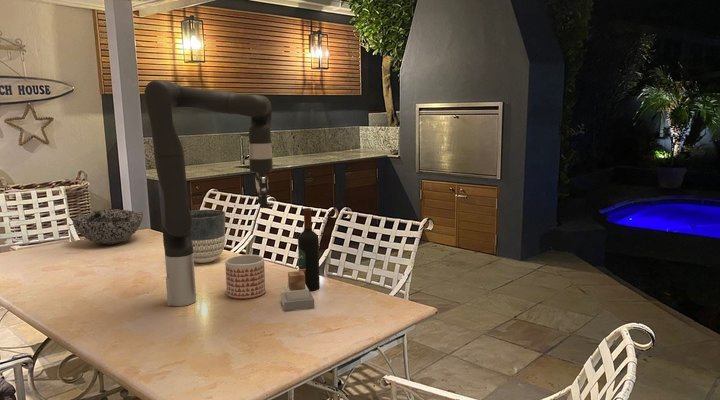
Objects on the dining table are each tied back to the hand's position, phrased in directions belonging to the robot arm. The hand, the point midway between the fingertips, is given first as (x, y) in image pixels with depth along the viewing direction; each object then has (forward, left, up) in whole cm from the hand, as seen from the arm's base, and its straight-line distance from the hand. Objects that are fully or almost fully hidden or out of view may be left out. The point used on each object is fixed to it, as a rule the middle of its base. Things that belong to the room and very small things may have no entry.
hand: (262, 205), depth 181 cm
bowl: (-67, +110, -34) cm, 133 cm away
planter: (-21, +61, -34) cm, 73 cm away
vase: (-6, +13, -34) cm, 37 cm away
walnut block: (+10, -4, -28) cm, 30 cm away
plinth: (+10, -4, -34) cm, 36 cm away
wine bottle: (+17, +12, -34) cm, 40 cm away
